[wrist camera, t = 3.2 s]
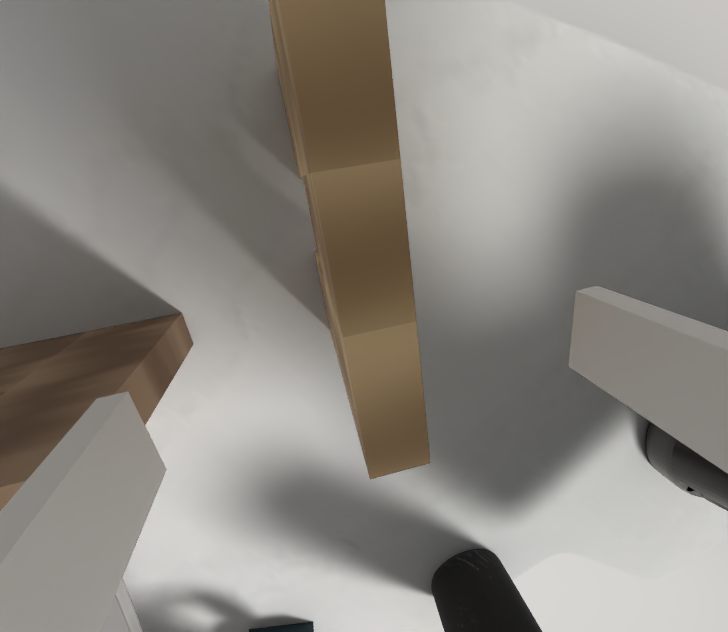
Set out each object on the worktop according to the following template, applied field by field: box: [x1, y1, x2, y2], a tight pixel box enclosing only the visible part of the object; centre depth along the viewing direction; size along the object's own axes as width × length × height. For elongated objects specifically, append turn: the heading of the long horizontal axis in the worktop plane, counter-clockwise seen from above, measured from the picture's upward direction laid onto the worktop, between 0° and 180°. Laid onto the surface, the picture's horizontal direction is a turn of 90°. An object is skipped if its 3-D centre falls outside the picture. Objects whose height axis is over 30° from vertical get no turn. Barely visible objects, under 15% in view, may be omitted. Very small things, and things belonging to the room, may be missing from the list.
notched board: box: [269, 0, 430, 479], centre depth 14 cm, size 14×2×12 cm, turn 9°
